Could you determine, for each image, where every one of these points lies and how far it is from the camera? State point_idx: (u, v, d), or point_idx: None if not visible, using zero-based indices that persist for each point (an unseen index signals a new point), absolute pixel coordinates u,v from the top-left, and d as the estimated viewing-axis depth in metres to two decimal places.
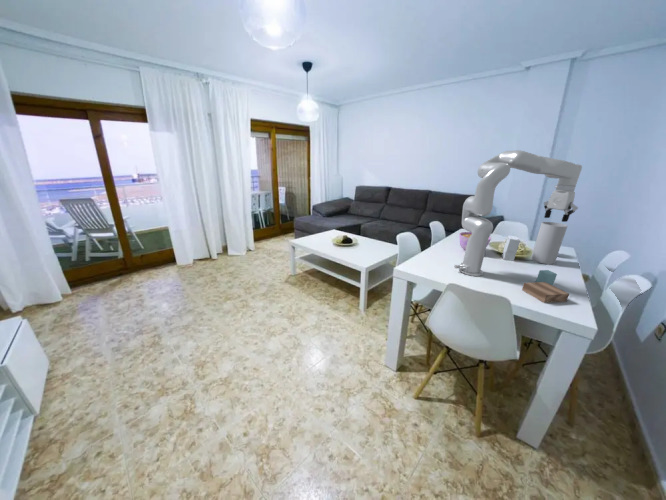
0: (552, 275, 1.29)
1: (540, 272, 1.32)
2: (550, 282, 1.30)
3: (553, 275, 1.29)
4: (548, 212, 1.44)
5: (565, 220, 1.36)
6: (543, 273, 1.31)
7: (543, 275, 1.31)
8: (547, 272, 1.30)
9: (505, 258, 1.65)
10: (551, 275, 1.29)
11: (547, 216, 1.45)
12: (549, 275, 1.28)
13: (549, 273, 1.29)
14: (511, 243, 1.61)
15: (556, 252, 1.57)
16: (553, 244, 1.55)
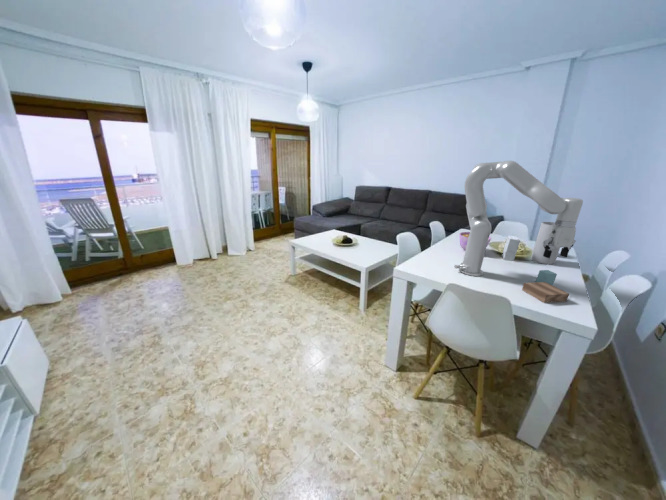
0: (552, 275, 1.29)
1: (540, 272, 1.32)
2: (550, 282, 1.30)
3: (553, 275, 1.29)
4: None
5: None
6: (543, 273, 1.31)
7: (543, 275, 1.31)
8: (547, 272, 1.30)
9: (505, 258, 1.65)
10: (551, 275, 1.29)
11: None
12: (548, 275, 1.28)
13: (549, 273, 1.29)
14: (511, 243, 1.61)
15: (556, 252, 1.57)
16: None
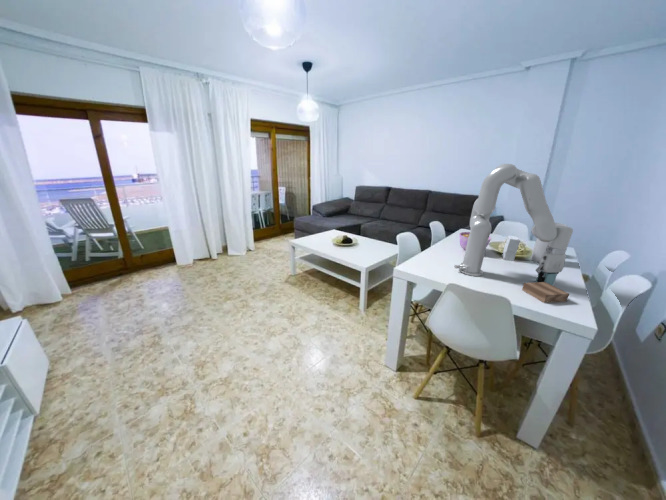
0: (552, 275, 1.29)
1: None
2: (550, 282, 1.30)
3: (553, 275, 1.29)
4: None
5: None
6: None
7: None
8: None
9: (505, 258, 1.65)
10: (551, 275, 1.29)
11: None
12: (549, 274, 1.28)
13: (549, 273, 1.29)
14: (511, 243, 1.61)
15: None
16: None
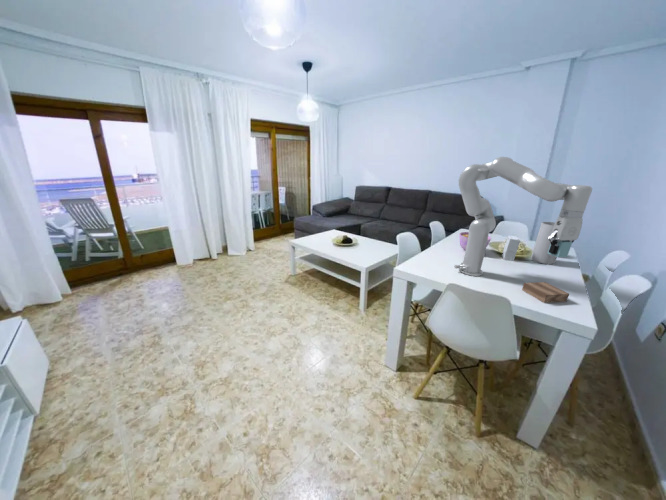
0: (567, 243, 1.12)
1: None
2: (565, 251, 1.13)
3: (568, 243, 1.12)
4: None
5: None
6: None
7: None
8: None
9: (505, 258, 1.65)
10: (566, 243, 1.12)
11: None
12: (563, 243, 1.11)
13: (563, 241, 1.12)
14: (511, 243, 1.61)
15: None
16: None
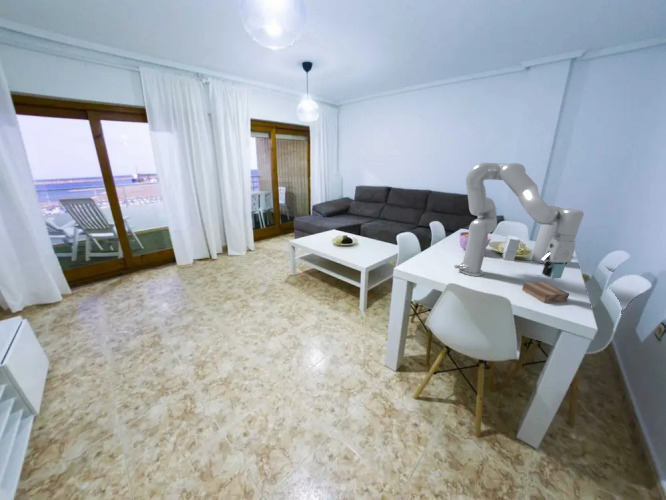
0: (560, 265, 1.13)
1: None
2: (558, 273, 1.14)
3: (561, 265, 1.13)
4: None
5: None
6: None
7: None
8: None
9: (505, 258, 1.65)
10: (559, 265, 1.13)
11: None
12: (556, 265, 1.13)
13: (557, 263, 1.14)
14: (511, 243, 1.61)
15: None
16: None
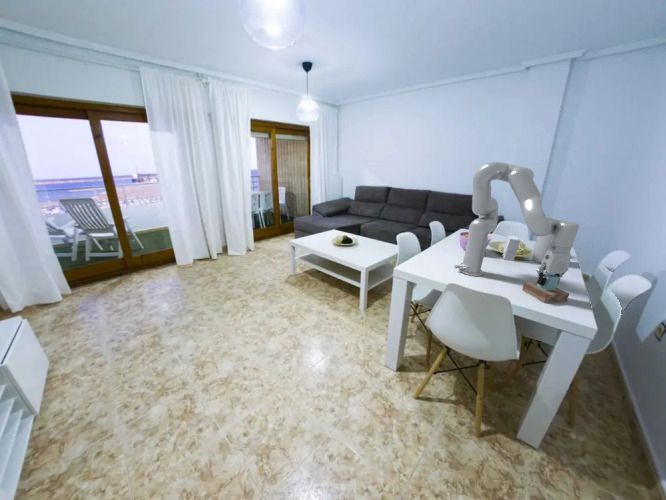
0: (555, 278, 1.15)
1: None
2: (553, 286, 1.17)
3: (556, 278, 1.16)
4: None
5: None
6: None
7: None
8: (549, 275, 1.17)
9: (505, 258, 1.65)
10: (554, 278, 1.15)
11: None
12: (551, 278, 1.15)
13: (551, 276, 1.16)
14: (511, 243, 1.61)
15: None
16: None
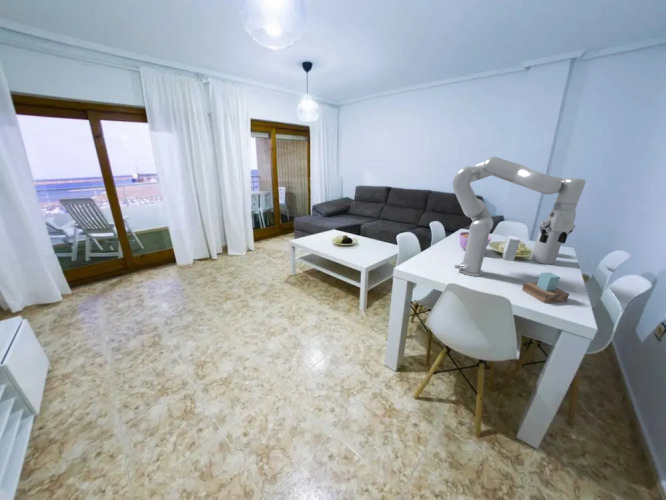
0: (555, 278, 1.15)
1: (541, 275, 1.19)
2: (553, 286, 1.17)
3: (556, 278, 1.16)
4: None
5: None
6: (545, 276, 1.18)
7: (545, 278, 1.17)
8: (549, 275, 1.17)
9: (505, 258, 1.65)
10: (554, 278, 1.15)
11: None
12: (551, 278, 1.15)
13: (551, 276, 1.16)
14: (511, 243, 1.61)
15: (556, 252, 1.57)
16: (553, 244, 1.55)
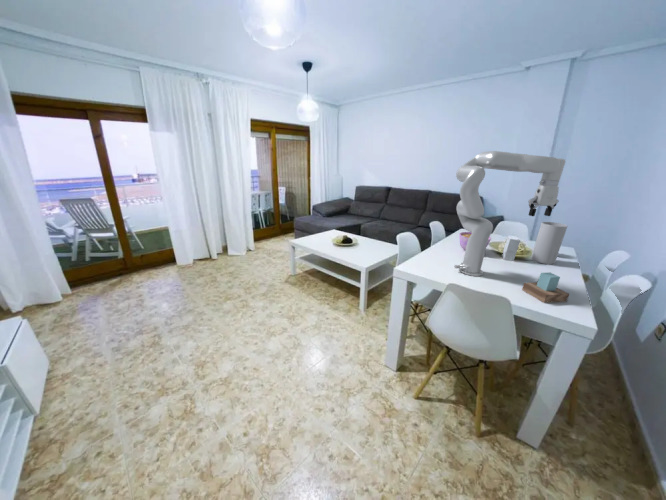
0: (555, 278, 1.15)
1: (541, 275, 1.19)
2: (553, 286, 1.17)
3: (556, 278, 1.16)
4: None
5: None
6: (545, 276, 1.18)
7: (545, 278, 1.17)
8: (549, 275, 1.17)
9: (505, 258, 1.65)
10: (554, 278, 1.15)
11: None
12: (551, 278, 1.15)
13: (551, 276, 1.16)
14: (511, 243, 1.61)
15: (556, 252, 1.57)
16: (553, 244, 1.55)
